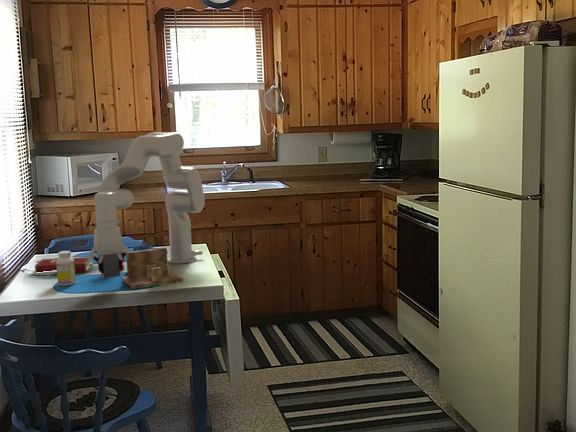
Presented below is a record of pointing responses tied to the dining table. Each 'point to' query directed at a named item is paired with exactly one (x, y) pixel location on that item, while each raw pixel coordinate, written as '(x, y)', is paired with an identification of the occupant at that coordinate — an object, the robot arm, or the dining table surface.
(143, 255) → the wooden desk organizer
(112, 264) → the bracket
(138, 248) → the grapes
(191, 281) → the dining table surface
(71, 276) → the supplement bottle
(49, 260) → the hardcover book
